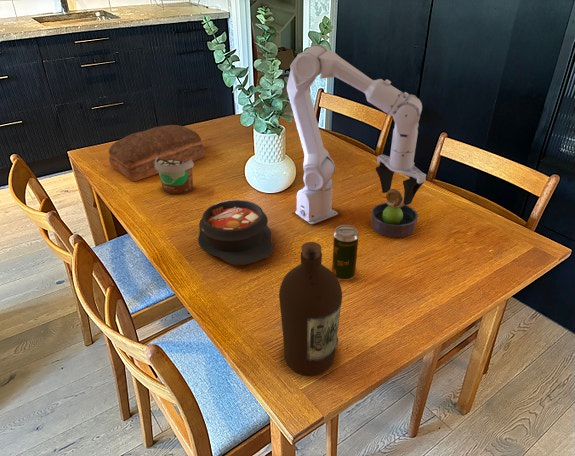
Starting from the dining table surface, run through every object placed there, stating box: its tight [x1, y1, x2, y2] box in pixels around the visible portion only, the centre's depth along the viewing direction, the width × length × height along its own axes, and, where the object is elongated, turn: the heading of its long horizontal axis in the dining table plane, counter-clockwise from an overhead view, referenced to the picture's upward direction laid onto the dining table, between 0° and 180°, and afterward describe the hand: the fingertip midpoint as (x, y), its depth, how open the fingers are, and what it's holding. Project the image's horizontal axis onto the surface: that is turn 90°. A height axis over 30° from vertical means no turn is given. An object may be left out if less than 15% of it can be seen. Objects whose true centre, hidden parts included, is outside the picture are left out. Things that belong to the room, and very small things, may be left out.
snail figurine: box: [382, 188, 404, 225], centre depth 119 cm, size 5×6×12 cm
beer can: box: [331, 224, 359, 282], centre depth 102 cm, size 5×5×12 cm
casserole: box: [197, 199, 275, 266], centre depth 115 cm, size 25×19×8 cm
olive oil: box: [278, 241, 343, 377], centre depth 79 cm, size 11×11×25 cm
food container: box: [155, 156, 195, 196], centre depth 138 cm, size 12×6×10 cm, turn 76°
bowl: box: [369, 202, 419, 239], centre depth 121 cm, size 12×12×4 cm
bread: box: [108, 124, 206, 182], centre depth 156 cm, size 17×29×11 cm, turn 133°
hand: (396, 197), depth 118 cm, fingers open, 7 cm apart
